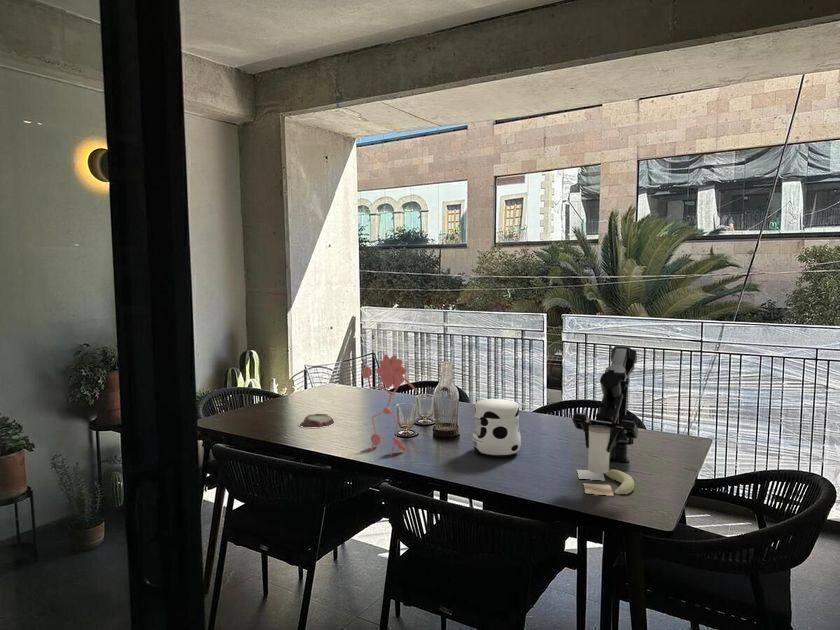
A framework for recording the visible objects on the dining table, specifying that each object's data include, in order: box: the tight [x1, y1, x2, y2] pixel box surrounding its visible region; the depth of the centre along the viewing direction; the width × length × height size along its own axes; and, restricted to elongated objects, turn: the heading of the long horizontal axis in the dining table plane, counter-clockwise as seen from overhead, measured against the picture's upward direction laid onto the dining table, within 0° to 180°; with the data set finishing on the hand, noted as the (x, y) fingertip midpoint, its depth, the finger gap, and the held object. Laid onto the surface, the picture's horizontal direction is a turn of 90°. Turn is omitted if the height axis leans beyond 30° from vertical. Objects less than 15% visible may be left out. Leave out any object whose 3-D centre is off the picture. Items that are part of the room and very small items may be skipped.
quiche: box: [299, 413, 335, 428], centre depth 251 cm, size 21×20×4 cm
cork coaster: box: [582, 482, 615, 497], centre depth 177 cm, size 8×8×1 cm
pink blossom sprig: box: [361, 354, 419, 459], centre depth 216 cm, size 15×26×35 cm, turn 56°
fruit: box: [604, 469, 635, 495], centre depth 181 cm, size 7×15×3 cm, turn 173°
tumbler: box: [587, 425, 610, 475], centre depth 176 cm, size 6×6×13 cm
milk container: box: [472, 398, 522, 458], centre depth 211 cm, size 17×17×18 cm
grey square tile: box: [576, 469, 606, 482], centre depth 189 cm, size 8×8×1 cm
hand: (597, 449), depth 175 cm, fingers closed on tumbler, 6 cm apart
